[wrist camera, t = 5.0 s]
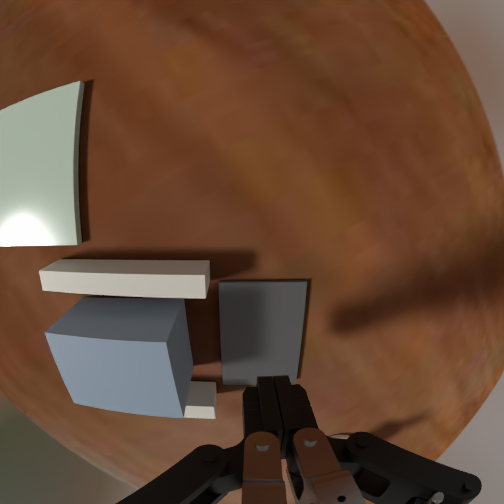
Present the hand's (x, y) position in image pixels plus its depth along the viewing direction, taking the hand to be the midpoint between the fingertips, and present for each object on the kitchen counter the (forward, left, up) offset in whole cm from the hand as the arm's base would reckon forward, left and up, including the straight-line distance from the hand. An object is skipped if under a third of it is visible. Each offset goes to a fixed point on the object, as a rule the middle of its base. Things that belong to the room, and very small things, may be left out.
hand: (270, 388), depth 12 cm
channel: (+5, 0, -5) cm, 7 cm away
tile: (+16, -11, -5) cm, 20 cm away
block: (+8, 0, -5) cm, 9 cm away
